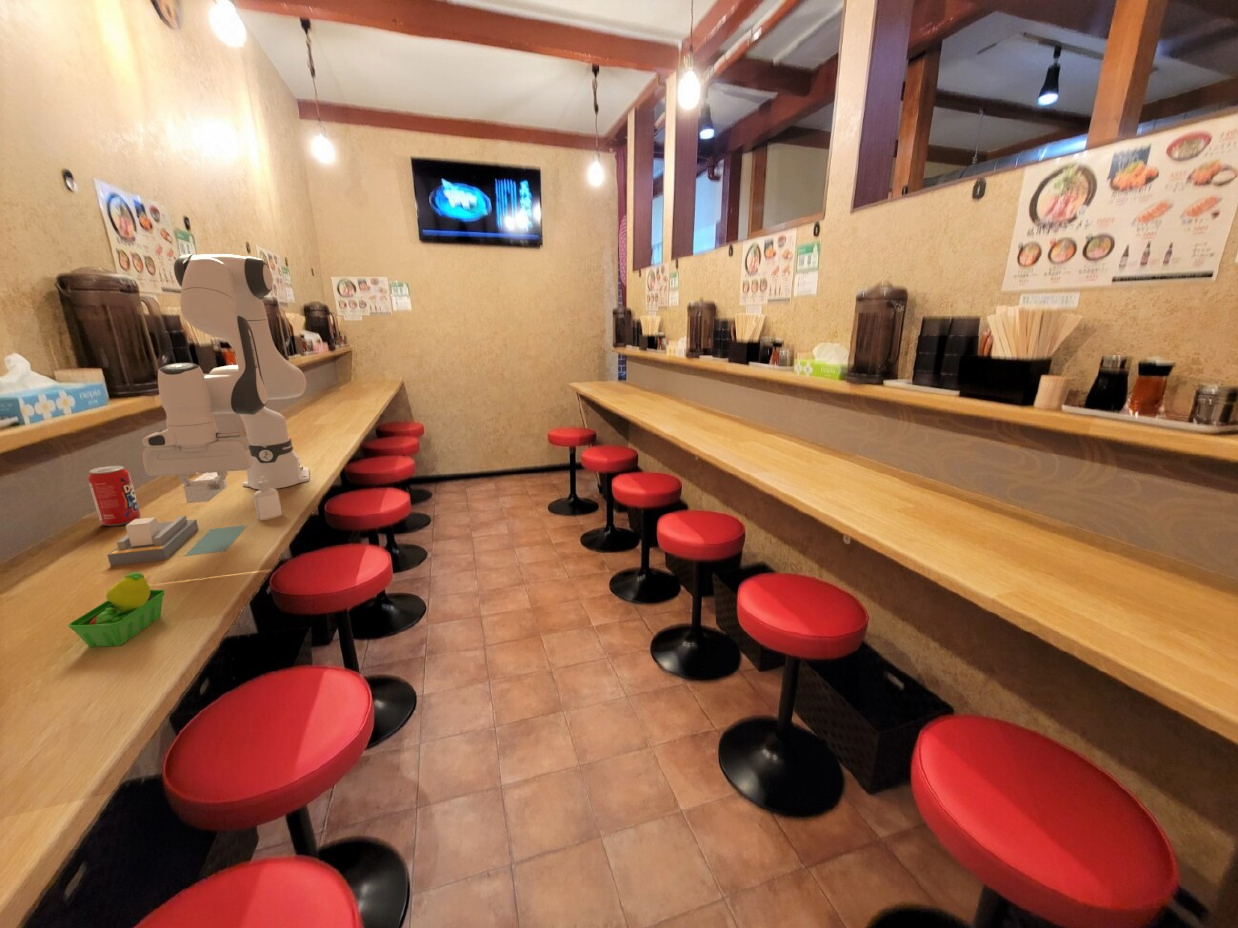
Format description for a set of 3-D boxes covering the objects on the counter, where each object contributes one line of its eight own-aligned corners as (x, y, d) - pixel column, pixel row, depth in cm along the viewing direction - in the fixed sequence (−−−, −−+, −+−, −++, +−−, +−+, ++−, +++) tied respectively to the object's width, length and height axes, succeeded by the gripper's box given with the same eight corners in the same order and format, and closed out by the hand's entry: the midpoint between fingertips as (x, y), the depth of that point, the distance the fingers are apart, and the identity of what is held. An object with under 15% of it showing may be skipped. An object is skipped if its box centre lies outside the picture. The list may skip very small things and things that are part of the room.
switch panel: (150, 534, 128) (146, 516, 126) (198, 529, 131) (194, 512, 130) (110, 567, 112) (104, 546, 110) (166, 560, 115) (161, 540, 113)
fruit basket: (129, 613, 95) (114, 560, 92) (180, 612, 96) (166, 558, 93) (73, 652, 84) (52, 593, 81) (130, 650, 85) (112, 591, 82)
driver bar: (208, 488, 127) (204, 473, 126) (226, 487, 128) (224, 471, 127) (187, 503, 116) (183, 486, 115) (208, 501, 117) (204, 485, 116)
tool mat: (211, 529, 131) (210, 528, 131) (247, 526, 134) (247, 525, 134) (184, 556, 117) (184, 555, 117) (225, 552, 119) (225, 551, 119)
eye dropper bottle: (280, 519, 139) (272, 478, 135) (256, 522, 137) (247, 480, 133) (283, 513, 143) (276, 473, 139) (260, 516, 141) (252, 475, 137)
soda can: (92, 526, 132) (76, 472, 127) (124, 515, 139) (110, 463, 135) (118, 528, 131) (103, 474, 126) (149, 517, 138) (135, 465, 134)
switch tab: (140, 539, 118) (134, 518, 116) (161, 537, 119) (156, 517, 118) (131, 546, 114) (125, 525, 113) (153, 544, 116) (147, 523, 114)
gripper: (250, 429, 124) (260, 482, 128) (147, 433, 117) (161, 489, 121) (242, 434, 118) (253, 489, 122) (132, 440, 111) (148, 498, 115)
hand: (206, 489), depth 121 cm, fingers closed on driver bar, 4 cm apart
